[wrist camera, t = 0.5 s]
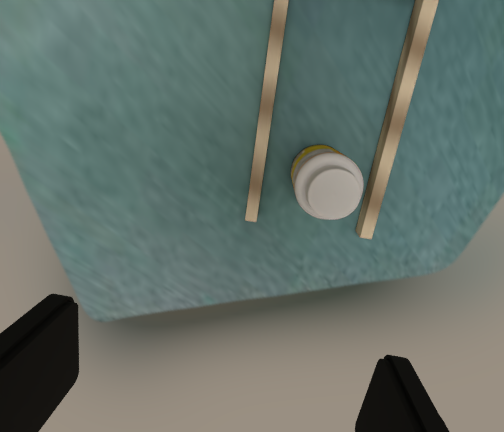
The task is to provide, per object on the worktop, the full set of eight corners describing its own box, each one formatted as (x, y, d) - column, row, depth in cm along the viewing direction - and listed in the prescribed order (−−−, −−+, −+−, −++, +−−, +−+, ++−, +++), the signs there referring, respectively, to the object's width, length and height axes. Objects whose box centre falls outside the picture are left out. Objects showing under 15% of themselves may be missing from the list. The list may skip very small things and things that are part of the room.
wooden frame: (281, -46, 27) (282, -70, 23) (436, -26, 27) (462, -48, 23) (246, 214, 35) (243, 227, 31) (366, 232, 35) (377, 247, 31)
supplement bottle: (346, 190, 33) (376, 223, 24) (295, 200, 34) (303, 236, 25) (340, 138, 32) (368, 150, 22) (286, 149, 32) (290, 166, 23)
